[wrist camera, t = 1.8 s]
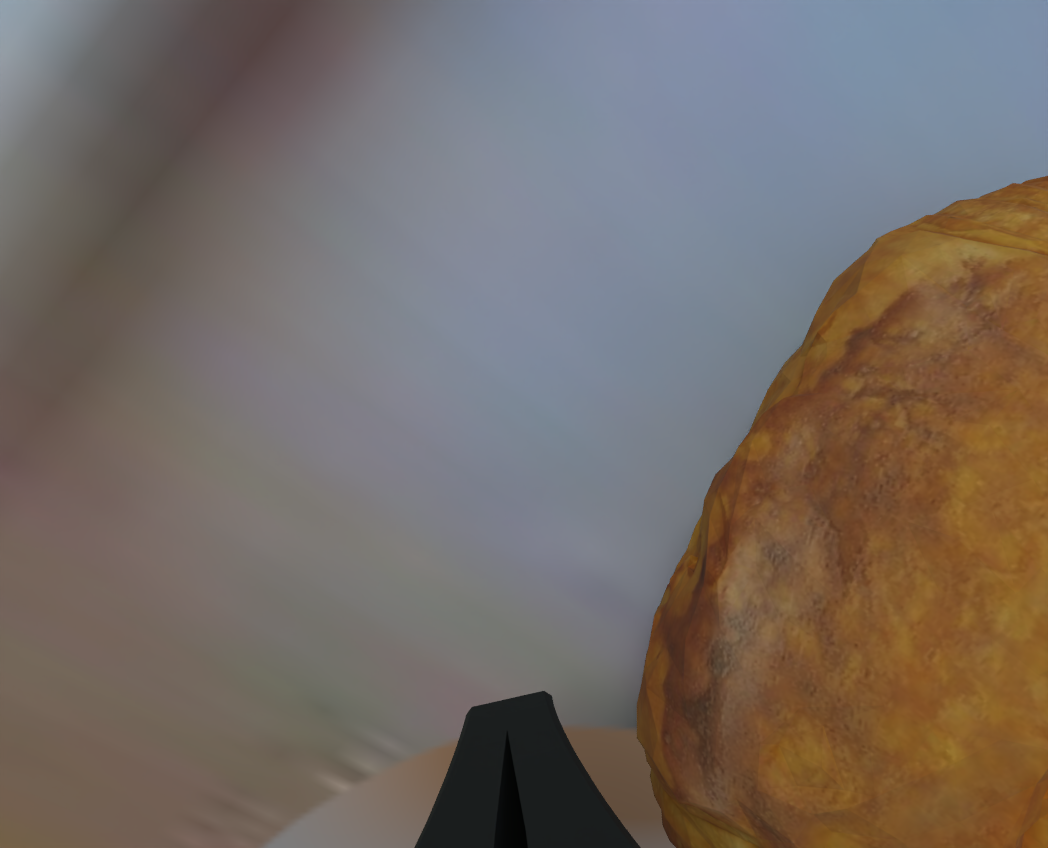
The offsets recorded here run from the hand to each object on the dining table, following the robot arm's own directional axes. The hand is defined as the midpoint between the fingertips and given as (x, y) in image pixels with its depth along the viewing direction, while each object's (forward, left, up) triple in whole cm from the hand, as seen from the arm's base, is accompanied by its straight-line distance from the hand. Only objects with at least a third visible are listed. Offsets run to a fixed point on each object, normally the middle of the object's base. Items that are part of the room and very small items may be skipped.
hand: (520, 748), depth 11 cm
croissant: (-8, +5, -5) cm, 11 cm away
